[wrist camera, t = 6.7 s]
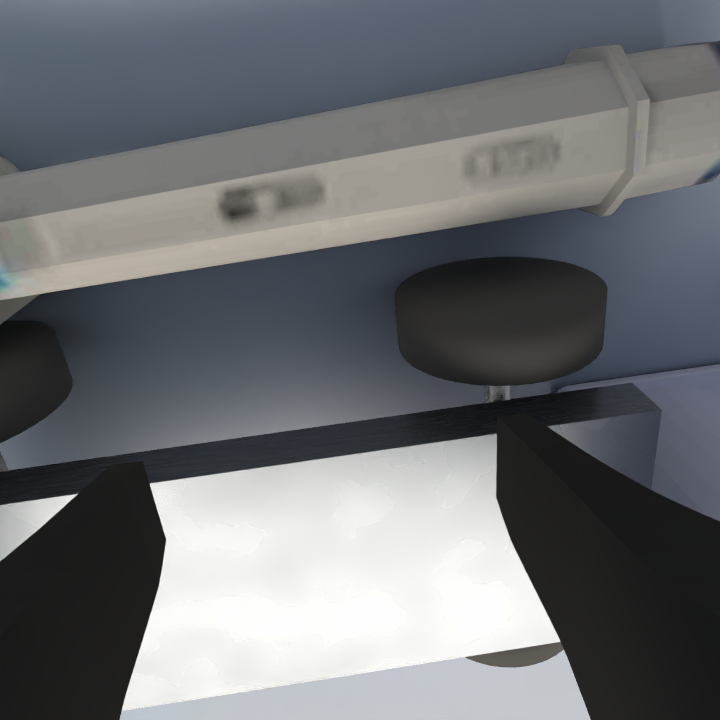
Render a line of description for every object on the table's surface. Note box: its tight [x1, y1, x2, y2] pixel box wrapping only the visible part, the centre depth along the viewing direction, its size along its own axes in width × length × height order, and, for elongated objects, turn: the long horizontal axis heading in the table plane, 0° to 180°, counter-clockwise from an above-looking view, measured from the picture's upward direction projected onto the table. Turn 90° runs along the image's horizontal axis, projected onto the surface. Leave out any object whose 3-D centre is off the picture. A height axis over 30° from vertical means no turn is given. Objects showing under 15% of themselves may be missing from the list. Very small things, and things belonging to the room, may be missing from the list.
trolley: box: [0, 257, 662, 711], centre depth 17 cm, size 22×13×12 cm, turn 96°
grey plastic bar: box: [0, 41, 720, 324], centre depth 17 cm, size 5×7×25 cm
